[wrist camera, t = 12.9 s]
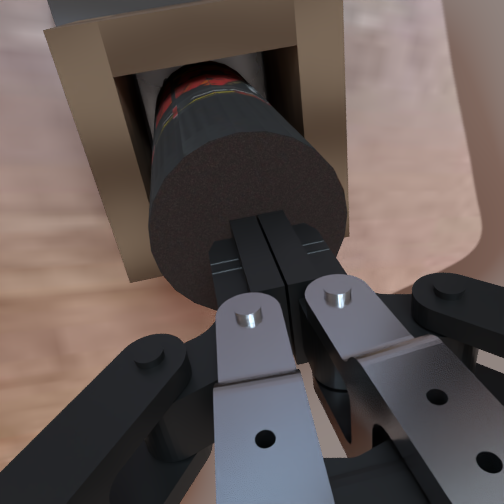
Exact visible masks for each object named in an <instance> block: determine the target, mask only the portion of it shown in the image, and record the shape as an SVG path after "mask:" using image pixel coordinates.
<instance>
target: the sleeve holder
mask: <svg viewBox="0 0 504 504" xmlns="http://www.w3.org/2000/svg"><path fill="white" fill-rule="evenodd" d="M47 1H48V4H49V7H50V10H51V13H52V16H53V19H54V22H55V25H56V27H54V28H50V29H47V30H43V31H44V34H45V37H46V40H47V43H48V46H49V49H50V52H51V55H52V57H53V60H54V63H55V66H56V69H57V72H58V75H59V78H60V81H61V84H62V86H63V89H64V92H65V95H66V98H67V101H68V104H69V107H70V110H71V112H72V115H73V118H74V121H75V124H76V127H77V130H78V133H79V136H80V139H81V141H82V144H83V147H84V150H85V153H86V156H87V159H88V162H89V165H90V167H91V170H92V173H93V176H94V179H95V182H96V185H97V188H98V191H99V194H100V196H101V199H102V202H103V205H104V208H105V211H106V214H107V217H108V220H109V223H110V225H111V228H112V231H113V234H114V237H115V240H116V243H117V246H118V249H119V251H120V254H121V257H122V260H123V263H124V266H125V269H126V272H127V275H128V278H129V280H130V283H132V282H137V281H141V280H146V279H151V278H156V277H160V276H163V275H162V274H161V272H160V270H159V268H158V266H157V263H156V261H155V259H154V257H153V255H152V253H151V247H150V239H149V231H148V220H149V203H150V186H151V169H152V152H153V138H152V134H151V130H150V126H149V123H148V119H147V115H146V111H145V107H144V103H143V99H142V96H141V92H140V88H139V84H138V80H137V76H136V73H141V72H147V71H152V70H158V69H164V68H170V67H175V66H181V65H187V64H192V63H198V62H204V61H209V60H215V59H221V58H227V57H232V56H238V55H244V54H249V53H255V52H261V57H262V65H263V74H264V82H265V90H266V99H267V102H268V103H269V104H270V105H271V106H272V107H273V108H274V109H275V110H276V111H277V112H278V113H279V114H280V115H281V116H282V117H283V118H284V119H285V120H286V121H287V122H288V123H289V124H290V125H291V126H292V127H294V128H295V129H296V130H297V131H298V132H299V133H300V134H301V135H302V136H303V137H304V138H305V139H306V140H307V141H308V142H309V143H310V144H311V145H312V146H313V147H314V148H315V149H316V150H317V151H318V152H319V153H320V155H321V156H322V157H323V158H324V159H325V160H326V161H327V162H328V163H329V164H330V165H331V166H332V167H333V168H334V170H335V172H336V174H337V176H338V178H339V180H340V183H341V185H342V187H343V189H344V193H345V199H346V206H347V212H348V213H347V222H346V230H345V236H344V237H349V204H348V167H347V131H346V95H345V59H344V23H343V0H47Z"/></svg>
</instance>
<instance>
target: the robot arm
mask: <svg viewBox="0 0 504 504" xmlns="http://www.w3.org/2000/svg"><path fill="white" fill-rule="evenodd" d="M229 224H230V230H231V235H232V238H229V239H224V240H219V241H214V243H213V245H212V247H211V248H210V250H209V252H208V254H209V259H210V265H211V271H212V276H213V282H214V288H215V293H216V299H217V305H218V310H217V313H216V321H215V322H214V324H213V325H212V326H211V327H210V328H209V329H208V330H207V331H206V332H204V333H203V334H201V335H200V336H198V337H196V338H194V339H192V340H190V341H188V342H186V343H183V342H182V341H181V340H180V339H179V338H177V337H176V336H173V335H169V334H154V335H149V336H146V337H143V338H141V339H138V340H136V341H135V342H133V343H131V344H130V345H128V346H127V347H126V348H125V349H124V350H123V351H122V352H121V353H120V354H119V355H118V356H117V357H116V358H115V359H114V360H113V361H112V362H111V363H110V364H109V365H108V366H107V367H106V368H105V369H104V370H103V371H102V372H101V373H100V374H99V375H98V376H97V377H96V378H95V379H94V380H93V381H92V382H91V383H90V384H89V385H88V386H87V387H86V388H85V389H84V390H83V391H82V392H81V393H80V394H79V395H78V396H76V397H75V398H74V399H73V400H72V401H71V402H70V403H69V404H68V405H67V406H66V407H65V408H64V409H63V410H62V411H61V412H60V413H59V414H58V415H57V416H56V417H55V418H54V419H53V420H52V421H51V422H50V423H49V424H48V425H47V426H46V427H45V428H44V429H43V430H42V431H41V432H40V433H39V434H38V435H37V436H36V437H35V438H34V439H33V440H32V441H31V442H30V443H29V444H28V445H27V446H26V447H25V448H24V449H23V450H22V451H21V452H20V453H19V454H18V455H17V456H16V457H15V458H14V459H13V460H12V461H11V462H10V463H9V464H8V465H7V466H6V467H5V468H4V469H3V470H2V471H1V472H0V504H179V503H180V502H181V500H182V499H183V497H184V496H185V494H186V492H187V491H188V489H189V487H190V486H191V484H192V483H193V481H194V480H195V478H196V476H197V475H198V473H199V472H200V470H201V469H202V467H203V466H204V464H205V462H206V461H207V459H208V457H209V455H210V453H211V450H212V444H213V443H215V475H216V504H504V374H503V373H501V372H498V371H496V370H493V369H490V368H488V367H485V366H483V365H480V364H478V363H476V361H477V355H478V349H481V350H483V351H486V352H489V353H492V354H494V355H497V356H499V357H502V358H504V287H501V286H498V285H494V284H491V283H487V282H484V281H480V280H476V279H473V278H469V277H466V276H463V275H458V274H453V273H433V274H429V275H426V276H423V277H421V278H419V279H418V280H417V281H416V282H415V283H414V285H413V287H412V294H379V293H374V291H373V290H372V289H371V288H370V287H369V286H368V284H366V283H365V282H364V281H363V280H361V279H359V278H357V277H354V276H351V275H347V274H346V272H345V271H344V269H343V268H342V266H341V265H340V263H339V262H338V260H337V259H336V257H335V256H334V254H333V253H332V251H331V250H330V249H329V247H328V245H327V244H326V242H325V241H324V239H323V238H322V236H321V235H320V233H319V232H318V230H317V229H315V228H313V227H311V226H309V225H308V224H306V223H301V224H296V225H291V224H290V222H289V220H288V218H287V217H286V215H285V213H284V211H283V210H278V211H273V212H268V213H263V214H259V215H256V217H255V215H254V216H249V217H244V218H239V219H234V220H229ZM293 355H294V357H295V360H296V363H297V364H298V365H299V364H303V363H307V362H309V364H310V367H311V369H312V375H313V385H314V389H315V392H316V394H317V396H318V398H319V400H320V402H321V404H322V406H323V408H324V410H325V412H326V414H327V416H328V418H329V420H330V422H331V424H332V426H333V429H334V430H335V432H336V435H337V437H338V439H339V441H340V443H341V445H342V447H343V449H344V451H345V453H346V455H347V458H323V456H322V452H321V448H320V445H319V441H318V437H317V433H316V429H315V425H314V422H313V418H312V414H311V410H310V406H309V402H308V399H307V394H306V391H305V387H304V383H303V379H302V376H301V372H300V370H299V369H296V365H295V361H294V357H293Z"/></svg>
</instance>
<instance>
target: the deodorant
mask: <svg viewBox="0 0 504 504" xmlns="http://www.w3.org/2000/svg"><path fill="white" fill-rule="evenodd" d="M278 210H283V211H284V213H285V215H286V217H287V218H288V220H289V222H290V224H291V225H296V224H301V223H306V224H308V225H309V226H311V227H313V228H315V229H317V230H318V232H319V233H320V235H321V236H322V238H323V239H324V241H325V242H326V244H327V245H328V247H329V249H330V250H331V251H332V253H333V254H334V256H335V257H336V256H337V254H338V251H339V249H340V246H341V244H342V241H343V239H344V236H345V230H346V222H347V213H348V212H347V206H346V199H345V193H344V189H343V187H342V185H341V183H340V180H339V178H338V176H337V174H336V172H335V170H334V168H333V167H332V166H331V165H330V164H329V163H328V162H327V161H326V160H325V159H324V158H323V157H322V156H321V155H320V153H319V152H318V151H317V150H316V149H315V148H314V147H313V146H312V145H311V144H310V143H309V142H308V141H307V140H306V139H305V138H304V137H303V136H302V135H301V134H300V133H299V132H298V131H297V130H296V129H295V128H294V127H292V126H291V125H290V124H289V123H288V122H287V121H286V120H285V119H284V118H283V117H282V116H281V115H280V114H279V113H278V112H277V111H276V110H275V109H274V108H273V107H272V106H271V105H270V104H269V103H268V102H267V101H266V100H265V99H264V98H263V97H262V96H261V95H260V94H259V93H258V92H257V91H256V90H255V89H254V88H253V87H252V86H251V85H250V84H249V83H248V82H247V81H246V80H245V79H244V78H243V77H242V76H241V75H240V74H239V73H238V72H237V71H235V70H234V69H232V68H230V67H229V66H227V65H225V64H222V63H218V62H215V61H204V62H198V63H192V64H187V65H183V66H182V67H180V68H179V69H177V70H176V71H174V72H173V73H172V74H171V75H170V76H169V77H168V78H167V80H166V81H165V82H164V83H163V85H162V87H161V89H160V91H159V94H158V96H157V101H156V107H155V118H154V135H153V152H152V169H151V186H150V203H149V220H148V231H149V239H150V247H151V253H152V255H153V257H154V259H155V261H156V263H157V266H158V268H159V270H160V272H161V274H162V275H163V276H164V277H165V278H166V279H167V281H168V282H169V283H170V284H171V285H172V286H173V288H174V289H175V290H176V291H178V292H179V293H181V294H182V295H184V296H185V297H187V298H188V299H190V300H191V301H193V302H194V303H197V304H200V305H202V306H205V307H208V308H211V309H214V310H218V305H217V299H216V293H215V288H214V282H213V276H212V271H211V265H210V259H209V254H208V252H209V250H210V248H211V247H212V245H213V243H214V241H219V240H224V239H229V238H232V235H231V230H230V224H229V220H234V219H239V218H244V217H249V216H254V215H255V217H256V215H259V214H263V213H268V212H273V211H278Z"/></svg>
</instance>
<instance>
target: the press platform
mask: <svg viewBox="0 0 504 504" xmlns="http://www.w3.org/2000/svg"><path fill="white" fill-rule="evenodd" d="M209 61H215V62H218V63H222V64H225V65H227V66H229V67H230V68H232V69H234V70H235V71H237V72H238V73H239V74H240V75H241V76H242V77H243V78H244V79H245V80H246V81H247V82H248V83H249V84H250V85H251V86H252V87H253V88H254V89H255V90H256V91H257V92H258V93H259V94H260V95H261V96H262V97H263V98H264V99H265V100H266V101H267V99H266V90H265V82H264V74H263V65H262V57H261V52H255V53H249V54H244V55H238V56H232V57H227V58H221V59H215V60H209ZM182 66H183V65H181V66H175V67H170V68H164V69H158V70H152V71H147V72H141V73H136V76H137V80H138V84H139V88H140V92H141V96H142V99H143V103H144V107H145V111H146V115H147V119H148V123H149V126H150V130H151V134H152V138H153V135H154V118H155V107H156V101H157V96H158V94H159V91H160V89H161V87H162V85H163V83H164V82H165V81H166V80H167V78H168V77H169V76H170V75H171V74H172V73H173V72H174V71H176V70H177V69H179V68H180V67H182Z"/></svg>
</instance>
